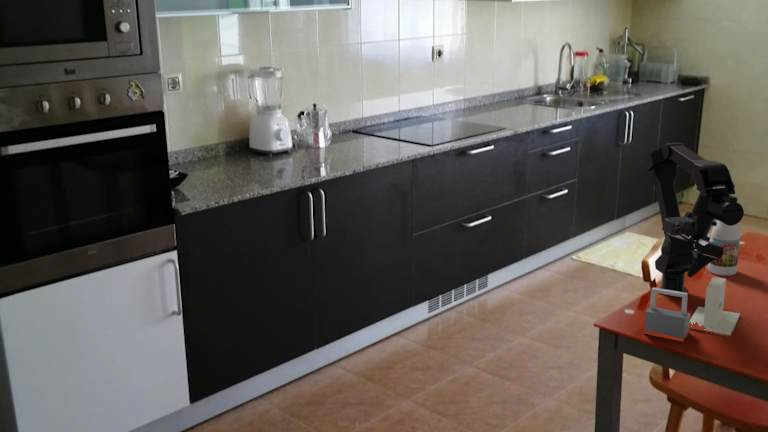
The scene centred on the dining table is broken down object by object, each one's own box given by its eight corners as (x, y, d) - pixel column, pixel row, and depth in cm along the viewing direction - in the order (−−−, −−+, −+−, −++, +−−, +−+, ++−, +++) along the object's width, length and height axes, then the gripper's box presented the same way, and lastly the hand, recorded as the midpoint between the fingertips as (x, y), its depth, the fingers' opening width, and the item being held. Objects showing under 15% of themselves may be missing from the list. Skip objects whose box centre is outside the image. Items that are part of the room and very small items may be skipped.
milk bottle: (702, 269, 232) (707, 204, 226) (722, 265, 234) (728, 200, 229) (721, 278, 225) (727, 210, 219) (742, 273, 227) (749, 207, 222)
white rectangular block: (709, 313, 200) (713, 276, 197) (722, 315, 198) (726, 278, 195) (703, 325, 193) (706, 287, 191) (716, 327, 192) (720, 289, 189)
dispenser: (650, 325, 196) (653, 283, 193) (688, 332, 191) (692, 289, 188) (644, 334, 191) (647, 291, 188) (683, 342, 186) (686, 298, 183)
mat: (698, 308, 205) (698, 306, 204) (739, 315, 199) (740, 313, 199) (686, 328, 193) (686, 326, 193) (730, 336, 188) (730, 334, 188)
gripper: (657, 194, 202) (633, 249, 205) (699, 216, 185) (672, 276, 188) (692, 205, 205) (668, 260, 209) (737, 228, 188) (710, 287, 191)
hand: (678, 270), depth 199 cm, fingers open, 9 cm apart
